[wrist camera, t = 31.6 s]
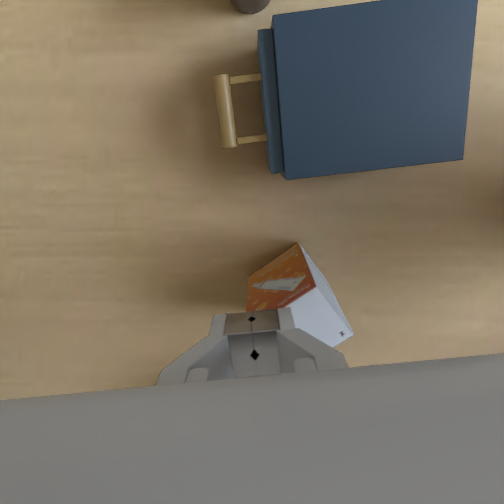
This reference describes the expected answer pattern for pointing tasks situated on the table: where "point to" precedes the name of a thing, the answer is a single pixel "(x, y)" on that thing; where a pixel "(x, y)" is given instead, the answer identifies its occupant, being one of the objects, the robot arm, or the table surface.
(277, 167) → the drawer
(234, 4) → the pepper mill
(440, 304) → the table surface
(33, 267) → the table surface
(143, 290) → the table surface
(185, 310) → the table surface
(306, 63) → the cabinet
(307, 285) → the small box
